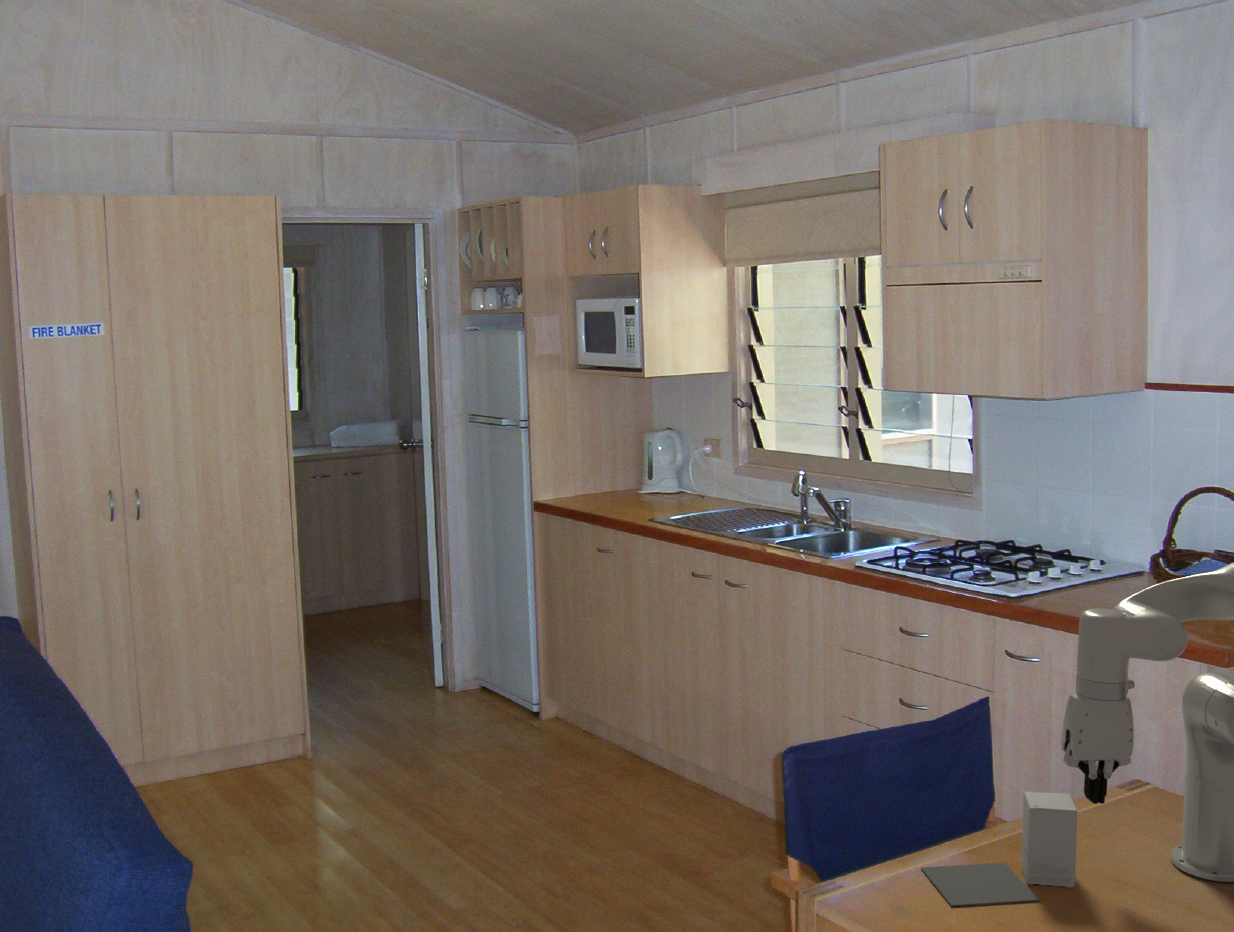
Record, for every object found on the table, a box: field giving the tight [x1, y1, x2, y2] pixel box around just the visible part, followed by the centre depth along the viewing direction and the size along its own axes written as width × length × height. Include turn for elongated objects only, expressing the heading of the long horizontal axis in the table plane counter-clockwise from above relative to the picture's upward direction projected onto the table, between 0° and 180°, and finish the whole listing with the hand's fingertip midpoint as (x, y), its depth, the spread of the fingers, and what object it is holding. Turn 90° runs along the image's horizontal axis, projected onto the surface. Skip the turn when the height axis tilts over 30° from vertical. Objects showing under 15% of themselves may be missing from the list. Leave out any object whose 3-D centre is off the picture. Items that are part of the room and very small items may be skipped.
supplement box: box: [1020, 791, 1078, 888], centre depth 196 cm, size 7×7×13 cm
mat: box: [920, 862, 1041, 908], centre depth 194 cm, size 14×13×1 cm
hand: (1094, 800), depth 196 cm, fingers closed
